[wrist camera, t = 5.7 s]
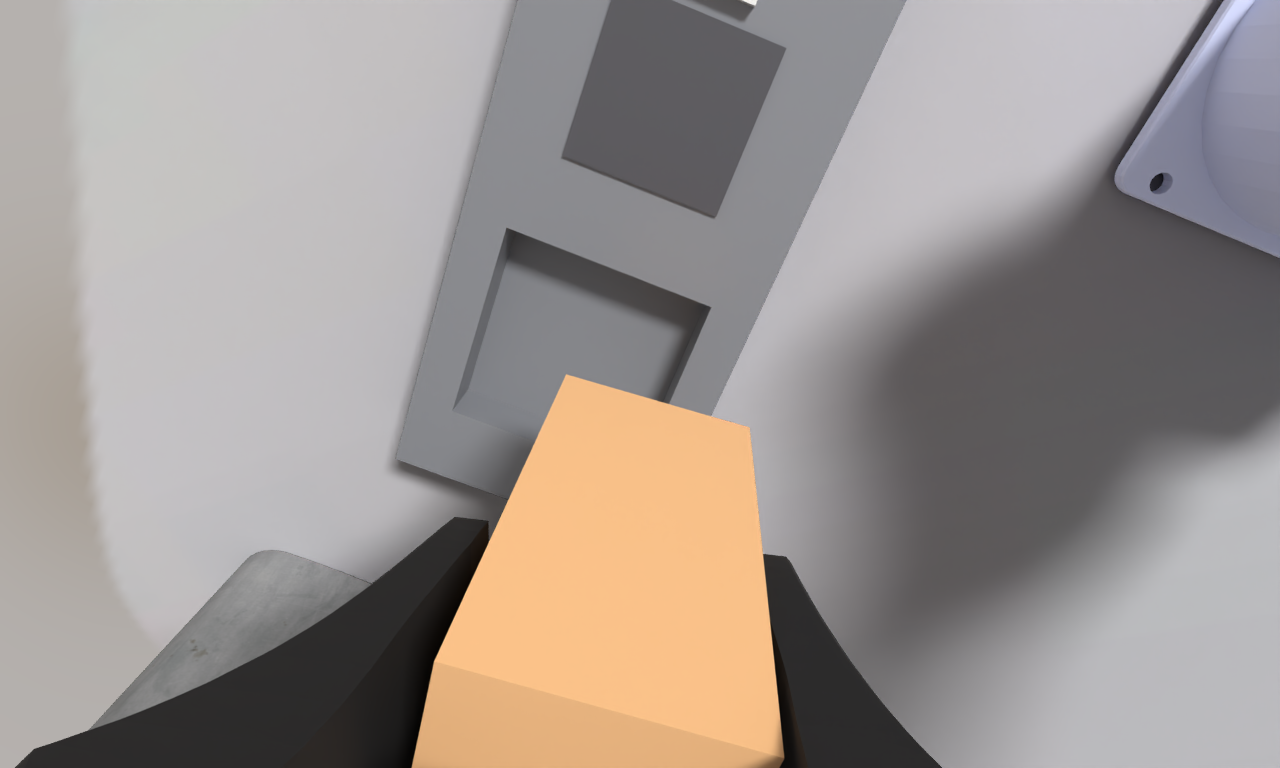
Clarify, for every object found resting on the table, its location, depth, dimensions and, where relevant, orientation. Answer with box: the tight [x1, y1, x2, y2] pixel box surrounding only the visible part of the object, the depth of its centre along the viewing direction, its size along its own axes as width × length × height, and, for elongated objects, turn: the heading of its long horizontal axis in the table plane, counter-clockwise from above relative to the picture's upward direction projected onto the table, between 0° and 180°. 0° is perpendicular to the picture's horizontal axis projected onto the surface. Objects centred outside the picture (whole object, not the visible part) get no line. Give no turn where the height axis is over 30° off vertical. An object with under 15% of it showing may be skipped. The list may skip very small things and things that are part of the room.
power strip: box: [395, 0, 906, 500], centre depth 18 cm, size 8×24×2 cm, turn 159°
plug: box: [412, 374, 784, 768], centre depth 13 cm, size 4×4×8 cm
